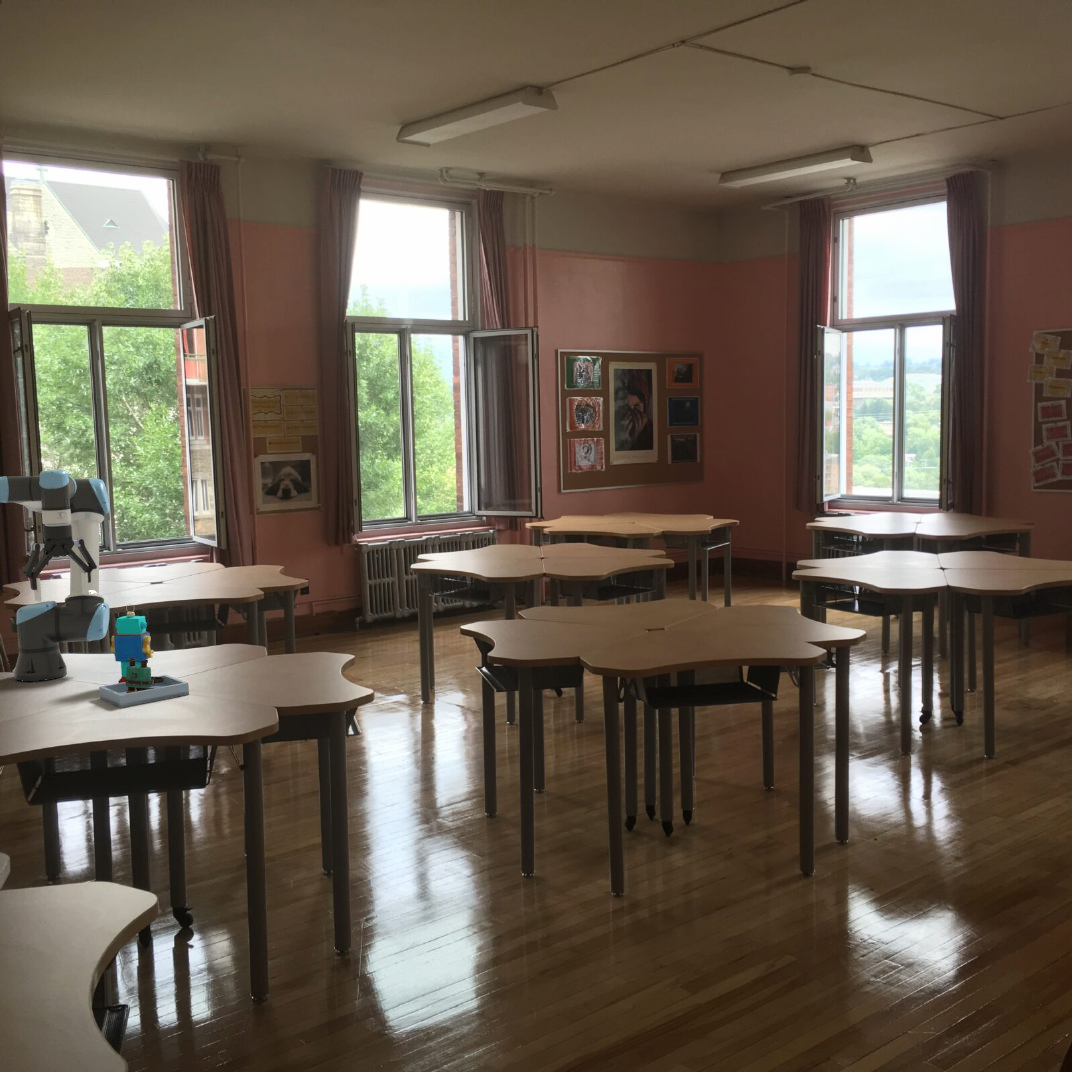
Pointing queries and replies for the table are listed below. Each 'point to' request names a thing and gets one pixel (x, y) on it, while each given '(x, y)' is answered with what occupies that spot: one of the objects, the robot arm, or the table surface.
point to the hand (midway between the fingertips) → (62, 597)
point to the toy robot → (131, 641)
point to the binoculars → (140, 677)
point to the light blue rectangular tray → (143, 692)
